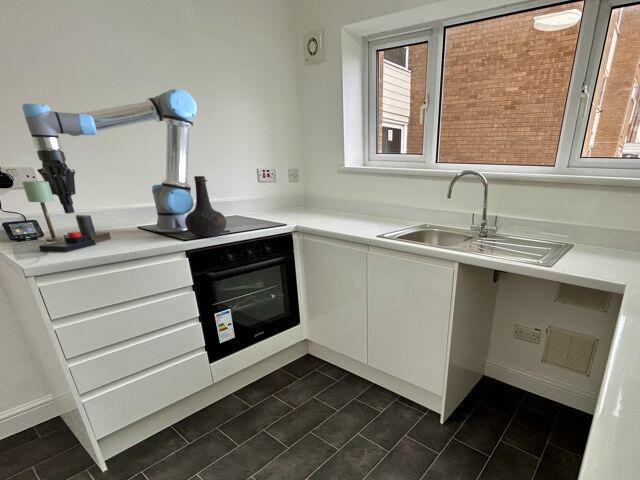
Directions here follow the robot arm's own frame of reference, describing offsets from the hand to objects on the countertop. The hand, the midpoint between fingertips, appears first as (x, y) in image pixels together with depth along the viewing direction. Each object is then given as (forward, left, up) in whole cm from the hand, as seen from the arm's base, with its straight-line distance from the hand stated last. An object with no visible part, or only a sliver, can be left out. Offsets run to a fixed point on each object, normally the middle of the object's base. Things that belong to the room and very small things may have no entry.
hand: (70, 212), depth 142 cm
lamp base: (0, +5, -14) cm, 14 cm away
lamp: (0, +10, -9) cm, 14 cm away
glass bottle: (-39, -29, -14) cm, 50 cm away
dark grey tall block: (+2, -8, -10) cm, 13 cm away
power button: (0, +1, -10) cm, 10 cm away
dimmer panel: (+4, -9, -13) cm, 17 cm away
